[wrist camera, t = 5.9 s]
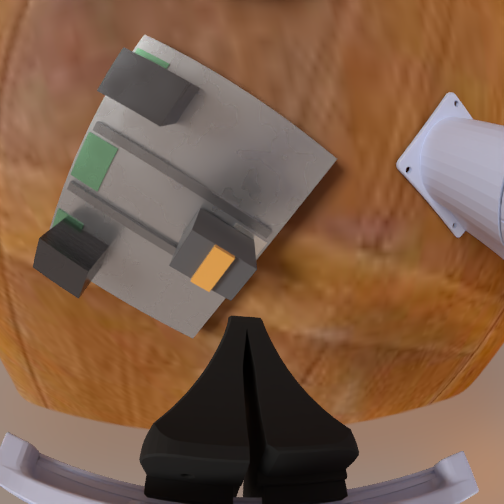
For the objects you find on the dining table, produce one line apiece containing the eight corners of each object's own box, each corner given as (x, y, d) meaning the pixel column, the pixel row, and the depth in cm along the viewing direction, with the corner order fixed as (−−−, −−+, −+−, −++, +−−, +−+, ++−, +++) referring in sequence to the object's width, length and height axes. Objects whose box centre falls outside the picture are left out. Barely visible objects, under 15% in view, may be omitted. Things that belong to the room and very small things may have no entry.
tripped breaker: (254, 241, 19) (257, 272, 16) (232, 269, 20) (230, 304, 16) (200, 207, 18) (191, 232, 14) (180, 238, 19) (167, 268, 15)
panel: (330, 155, 18) (357, 170, 14) (194, 326, 24) (187, 370, 20) (151, 39, 14) (123, 20, 10) (53, 241, 20) (20, 272, 16)
